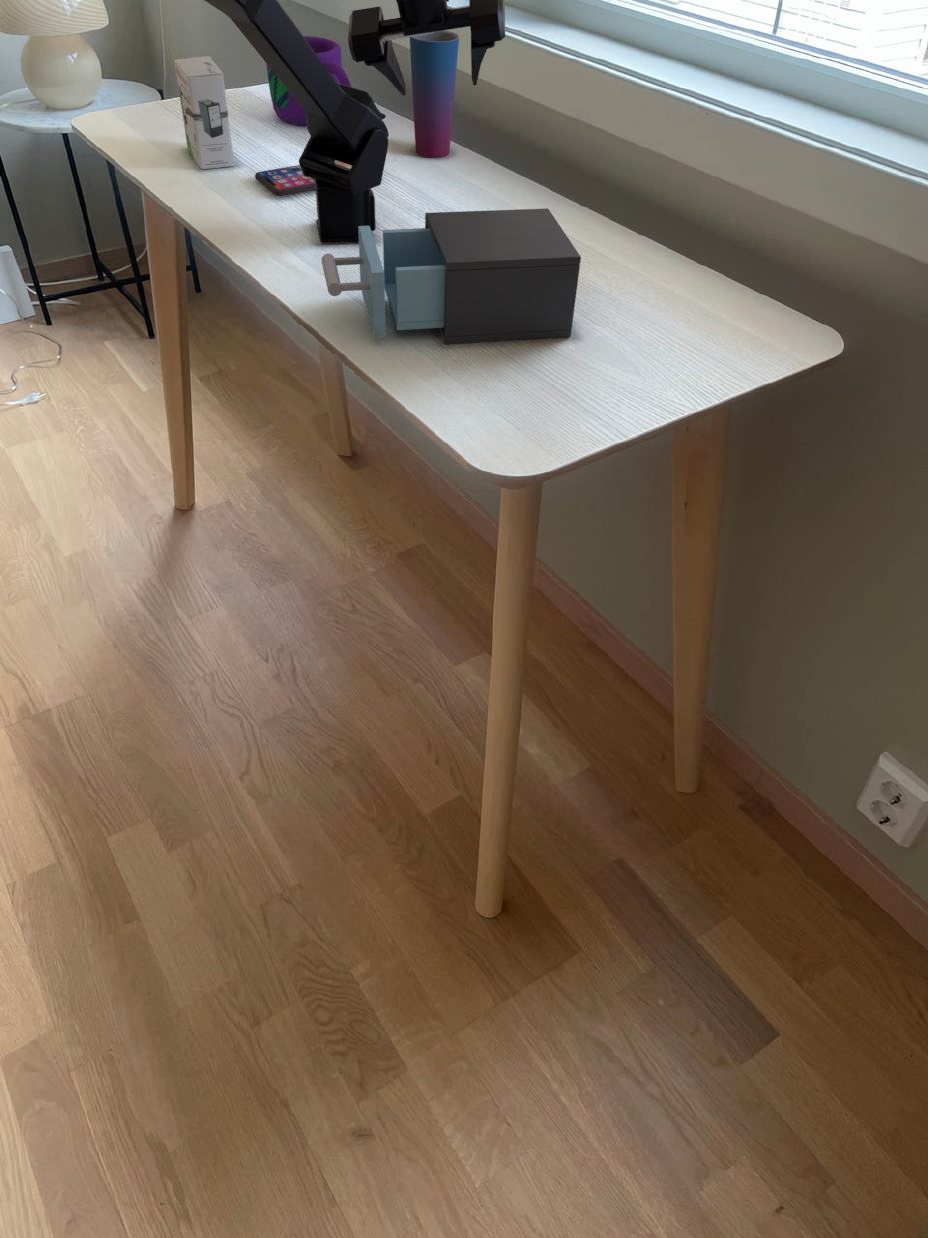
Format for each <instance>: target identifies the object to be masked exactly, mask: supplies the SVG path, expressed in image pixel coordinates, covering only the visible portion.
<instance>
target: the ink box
mask: <svg viewBox="0 0 928 1238" xmlns="http://www.w3.org/2000/svg"><path fill="white" fill-rule="evenodd" d="M173 61H174V69H175V74H176V81H177V88H178V93H179V94H178V95H179V100H180V106H181V113H182V120H183V127H184V132H185V139H186V146H187V147H186V148H187V151H188V152H189V154H190V155H191V157H192V158H193V160H194V161H195V163H197V165H198V167H199V168H200V169H201V170H208V169H217V168H218V169H219V168H229V167H234V166H235V165H236V164H235V157H234V149H233V142H232V134H231V127H230V119H229V111H228V103H227V95H226V94H227V93H226V87H225V79H224V74H223V71H222V70H221V68H219V66H218V65H217V64H216V62H215V61H214V60H213V59H212V57H211V56H209V55H203V56H195V57H188V58H177V59H174V60H173Z"/></svg>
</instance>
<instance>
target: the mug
mask: <svg viewBox="0 0 928 1238" xmlns="http://www.w3.org/2000/svg"><path fill="white" fill-rule="evenodd" d="M303 36H304V38H305V39H306V40H307V42H308V43H309V45H310V46H311V47H312V49H313V50H314V51H315V53H316V54H317V56H318V57H319V58H320V60H321V61H322V62H323V64H324V65H325V67H326V68H327V69H328V71H329V72H330V73H331V75H332V76H333V78H334V79H335V80H336V82H337V83H339V84H342V85H346V86H349V87H352V84H351V82H350V79H349V78H348V75H347V73H346V72H345V69H344V68H343V64H342V63H343V61H342V47H341V46H340V44H339V43H338V42H336V41H334V40H332V39H328V38H325V37H321V36H312V35H311V36H310V35H303ZM265 64H266V65H265V66H266V73H267V80H268V87H269V93H270V100H271V104H272V107H273V108H272V109H273V111H274V113H275V115H276V116H277V117H278V118H279V119H280V120H282V121H283V122H286V123H288V124H292V125H295V126H296V125H297V126H307V116H306V113H305V111H304V109H303V108H302V107H301V106H300V104H299V103H298V102H297V101H296V99H295V98H294V97H293V96H292V94H291V93H290V92H289V91H288V89H287V88H286V87H285V86H284V84H283V83H282V82H281V81H280V80H279V78H278V77H277V76H276V75H275V73H274V72H273V71H272V70H271V68H270V67H269V66H268V65H267V63H266V62H265Z"/></svg>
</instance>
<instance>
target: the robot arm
mask: <svg viewBox="0 0 928 1238" xmlns="http://www.w3.org/2000/svg"><path fill="white" fill-rule="evenodd" d="M395 1H396V5H397V9H398V14H399V17H395V18H394V17H393V18H388V19H384V18H385V16H384V13H383V8H382V7H381V6H373V7H367V8H361V9H354V10H352V11H351V13H350V15H349V17H348V19H349V20H348V21H349V22H348V30H347V31H348V32H347V33H348V34H347V44H348V49H349V53H350V57H351V60H353V61H354V62H355V63H361V62H363V63H364V65H365V66H366V67H373V68H375V69H376V70H377V71H378V72H379V73H380V74H382V76H384V77H385V78H386V79H387V80H388V81H389V82H390V83H391V84H392V85H393V87H394V88H395V89H396V90H397V91H398V92H399V94H401V96H403V97H404V96H406V95H407V90H406V84H405V83H406V82H405V79H404V76H403V73H402V70H401V67H400V64H399V61H398V58H397V55H396V52H395V49H394V45H393V42H392V41H394V40H395V41H396V40H400V39H401V40H402V39H407V38H410V37H415V36H422V35H428V34H433V33H434V32H436V31H443V30H446V31H450V30H455V29H461V28H468V27H470V65H471V66H470V67H471V81H472V86H477V85H478V81H479V80H478V79H479V74H480V70H481V66H482V63H483V61H484V58H485V56H486V53H487V51H488V50H489V49H492V48H494V47H495V46H496V42H501V41H503V39H504V38H506V7H505V5H506V4H505V0H469V2H468V3H469V5H464V6H457V7H451V8H449V6H448V3H449V1H450V0H395ZM204 2H206V3H208V4H209V5H211V6H212V7H213V8H215V9H217V10H218V11H220V12H221V13H222V14H225V15H226V16H227V17H228V18H229V19H230V20H231V21H232V22H233V24H234V25H235V26H236V27H237V29H238V30H239V31H240V33H242V35H243V36H244V38H246V40H247V41H248V42H249V43H250V45H251V46H252V48H253V49H254V50H255V51H256V52H257V53H258V55H259V56H260V57H261V59H262V60H263V61H264V62H265V64H266V63H267V65H268V66H269V67H270V68H271V70H272V71H273V72H274V73H275V75H276V76H277V77H278V78H279V80H280V81H281V82H282V83H283V84H284V86H285V87H286V88H287V89H288V91H289V92H290V93H291V94H292V96H293V97H294V98H295V99H296V101H297V102H298V103H299V104H300V106H301V107H302V108H303V109H304V111H305V113H306V116H307V125H306V128H307V131H308V133H309V135H310V137H309V139H308V141H307V143H306V145H305V147H304V149H303V150H302V152H301V155H300V157H299V159H298V165H300V167H301V170H302V173H303V175H304V176H305V177H310V178H313V179H315V188H316V190H315V201H316V202H315V203H316V213H317V214H316V215H317V219H315V224H316V228H317V229H316V230H317V234H318V238H319V243H321V244H341V243H359V233H358V226H370V229H371V232H372V235H373V236H374V234H373V232H375V231H376V227H377V226H376V198H375V194H374V192H373V190H372V189H373V188H376V187H379V186H381V184H382V179H383V174H384V170H385V165H386V159H387V155H388V150H389V129H388V127H387V124H386V123H385V122H384V120H385V119H386V117H387V116H386V114H384V113H383V112H381V111H380V110H379V109H378V107H377V106H376V103H375V101H374V99H373V97H372V96H371V95H370V94H369V92H368V91H365V90H363V89H359V88H355V87H352V86H351V87H349V86H346V85H342V84H339V83H337V82H336V80H335V79H334V78H333V76H332V75H331V73H330V72H329V71H328V69H327V68H326V67H325V65H324V64H323V62H322V61H321V60H320V58H319V57H318V56H317V54H316V53H315V51H314V50H313V49H312V47H311V46H310V45H309V43H308V42H307V40H306V39H305V38H304V36H305V35H303V33H302V32H301V31H300V30H299V28H298V26H297V25H296V24H295V23H294V21H293V20H292V18H291V17H290V16H289V14H288V12H287V11H286V10H285V8H283V6H282V5H281V3H280V2H279V0H204ZM267 65H266V66H267ZM335 160H337V161H340V162H343V163H346V164H349V165H351V166H352V167H351V169H350V168H347V167H344V166H341V165H338V164H335Z"/></svg>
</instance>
